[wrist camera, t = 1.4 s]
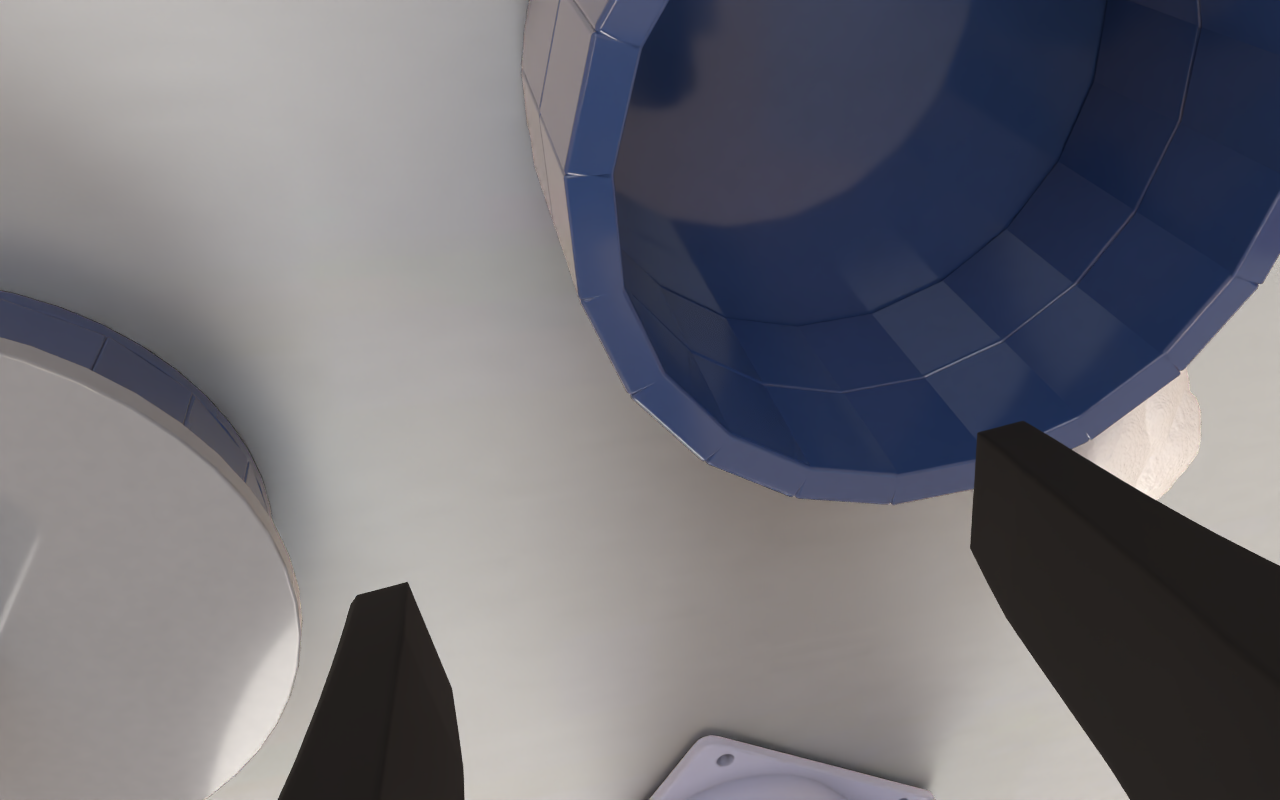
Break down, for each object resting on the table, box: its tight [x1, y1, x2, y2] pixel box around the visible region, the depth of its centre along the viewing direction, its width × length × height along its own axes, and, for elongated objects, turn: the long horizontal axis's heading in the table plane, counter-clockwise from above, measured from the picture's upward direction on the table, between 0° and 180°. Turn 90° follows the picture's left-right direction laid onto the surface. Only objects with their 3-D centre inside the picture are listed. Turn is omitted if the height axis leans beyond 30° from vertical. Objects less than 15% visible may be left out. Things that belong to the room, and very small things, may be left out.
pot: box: [521, 0, 1280, 505], centre depth 18 cm, size 12×12×6 cm
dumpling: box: [1072, 368, 1201, 500], centre depth 25 cm, size 7×5×4 cm
